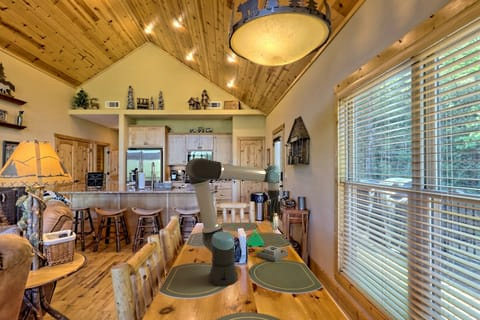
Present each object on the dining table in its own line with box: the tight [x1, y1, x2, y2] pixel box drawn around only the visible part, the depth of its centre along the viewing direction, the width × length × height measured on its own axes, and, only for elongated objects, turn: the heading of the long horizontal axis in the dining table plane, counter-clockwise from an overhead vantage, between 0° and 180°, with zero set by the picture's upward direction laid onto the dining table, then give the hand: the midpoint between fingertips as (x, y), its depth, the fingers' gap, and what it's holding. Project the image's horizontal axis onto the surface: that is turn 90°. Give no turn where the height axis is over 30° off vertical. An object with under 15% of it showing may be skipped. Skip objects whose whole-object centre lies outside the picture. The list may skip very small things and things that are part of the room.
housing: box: [256, 245, 288, 263], centre depth 165 cm, size 14×14×5 cm
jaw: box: [271, 212, 278, 231], centre depth 162 cm, size 4×4×10 cm
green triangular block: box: [246, 230, 265, 248], centre depth 188 cm, size 12×8×10 cm, turn 89°
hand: (274, 226), depth 162 cm, fingers closed on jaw, 3 cm apart
